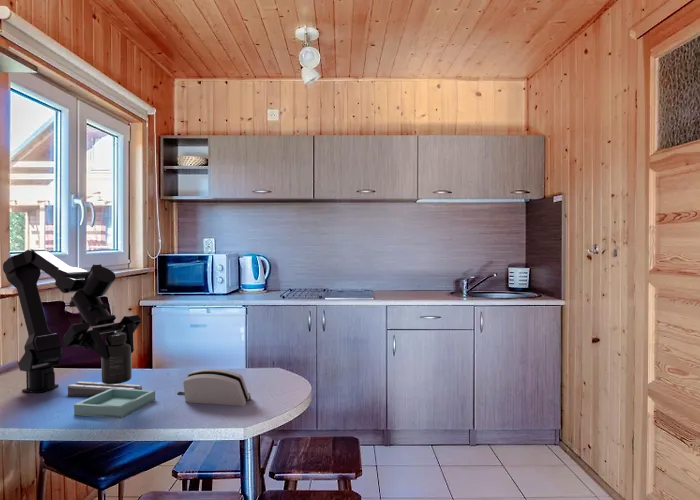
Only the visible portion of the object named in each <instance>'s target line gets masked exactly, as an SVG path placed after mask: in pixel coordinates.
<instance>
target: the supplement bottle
mask: <svg viewBox="0 0 700 500" xmlns="http://www.w3.org/2000/svg"><path fill="white" fill-rule="evenodd" d="M104 336H105V337H104V338H105V339H104V341H105V344H104V345H105V348H106V350H107V353H108V356H109V357H108V358H107V359H104V358H103V357H101V356H100V360H101V362H100V363H101V365H100V366H101V369H100V370H101V383H104V384H125V383H126V382H129V381H130V380H132V378H133V377H132V375H133V373H132V369H133V367H132V353H131V346H130V344H129V343H127V342H126V340H127V336H126V333H125V332H116V331H114V332H108V333H105V335H104Z"/></svg>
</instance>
